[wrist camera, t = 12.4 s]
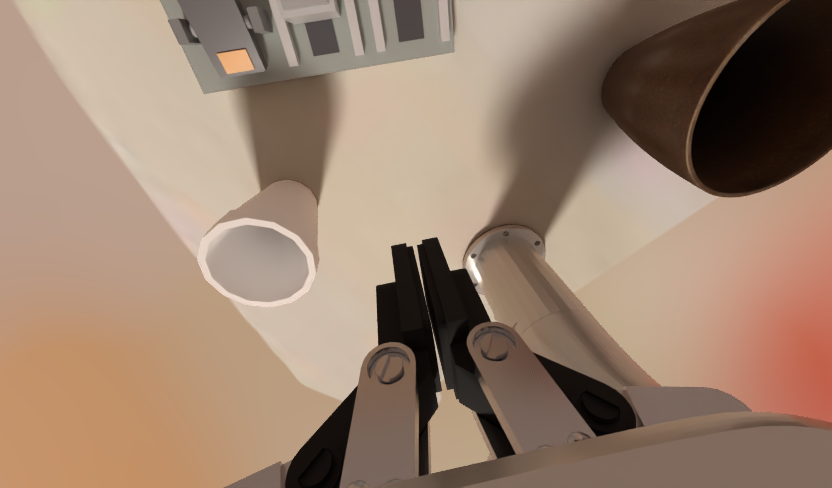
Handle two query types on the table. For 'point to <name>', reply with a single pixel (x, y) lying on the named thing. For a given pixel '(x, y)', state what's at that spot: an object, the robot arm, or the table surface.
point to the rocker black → (225, 36)
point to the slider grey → (307, 10)
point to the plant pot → (731, 94)
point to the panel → (326, 39)
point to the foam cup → (264, 247)
